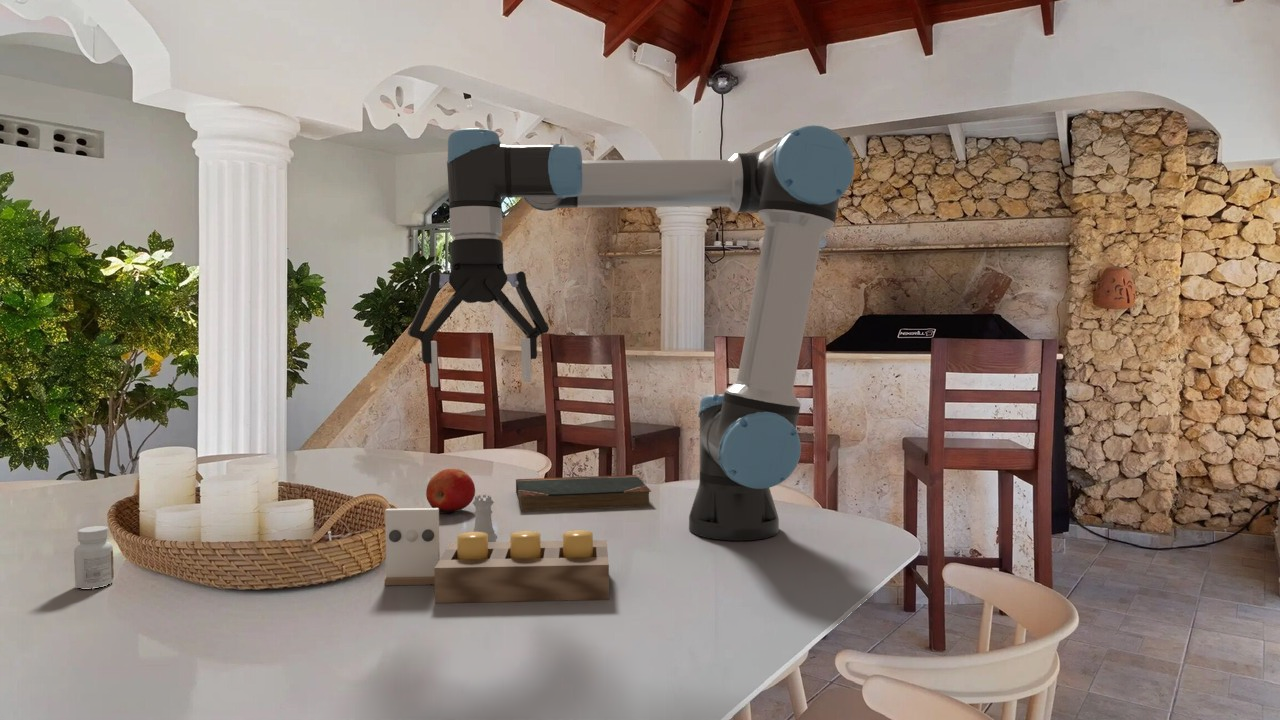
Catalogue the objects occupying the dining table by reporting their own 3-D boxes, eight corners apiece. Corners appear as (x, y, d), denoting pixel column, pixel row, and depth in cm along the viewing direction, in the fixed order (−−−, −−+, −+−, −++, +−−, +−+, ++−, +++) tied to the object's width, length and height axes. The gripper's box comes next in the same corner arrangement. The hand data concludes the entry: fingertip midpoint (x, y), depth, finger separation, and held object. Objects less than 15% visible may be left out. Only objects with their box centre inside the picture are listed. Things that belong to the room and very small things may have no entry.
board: (606, 571, 121) (606, 540, 121) (608, 599, 109) (608, 564, 109) (450, 574, 120) (449, 542, 120) (434, 603, 108) (434, 567, 108)
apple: (481, 510, 159) (481, 468, 158) (449, 519, 152) (448, 475, 151) (450, 505, 163) (450, 464, 163) (417, 514, 156) (417, 471, 156)
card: (441, 577, 118) (440, 506, 118) (437, 584, 115) (436, 511, 115) (389, 578, 118) (388, 507, 117) (384, 585, 115) (383, 512, 114)
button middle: (541, 561, 117) (541, 530, 116) (539, 569, 113) (539, 538, 112) (511, 561, 116) (511, 531, 116) (509, 570, 112) (508, 538, 112)
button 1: (489, 562, 116) (489, 531, 116) (486, 570, 112) (485, 539, 112) (460, 562, 116) (459, 531, 116) (455, 571, 112) (455, 539, 112)
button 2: (592, 560, 117) (592, 529, 117) (592, 568, 113) (592, 537, 113) (563, 560, 117) (563, 530, 117) (562, 569, 113) (562, 538, 113)
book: (519, 514, 158) (651, 508, 163) (519, 495, 158) (651, 490, 162) (515, 495, 175) (635, 490, 180) (515, 477, 175) (635, 473, 180)
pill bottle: (121, 582, 116) (119, 526, 116) (91, 592, 112) (89, 534, 112) (97, 579, 118) (96, 523, 117) (67, 588, 114) (65, 531, 113)
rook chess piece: (491, 551, 132) (491, 500, 131) (464, 550, 132) (464, 498, 132) (502, 544, 136) (501, 494, 135) (475, 542, 137) (475, 493, 136)
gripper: (552, 241, 133) (556, 378, 134) (385, 240, 124) (391, 386, 125) (566, 237, 126) (570, 381, 127) (390, 235, 117) (396, 390, 118)
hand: (481, 384), depth 126 cm, fingers open, 13 cm apart
